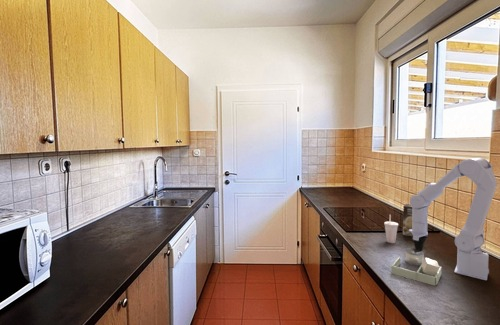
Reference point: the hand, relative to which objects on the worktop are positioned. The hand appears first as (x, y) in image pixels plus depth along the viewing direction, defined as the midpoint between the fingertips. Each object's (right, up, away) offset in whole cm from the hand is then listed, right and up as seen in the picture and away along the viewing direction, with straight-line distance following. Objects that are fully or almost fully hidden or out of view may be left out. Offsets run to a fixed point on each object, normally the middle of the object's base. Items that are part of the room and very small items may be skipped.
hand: (419, 251), depth 121 cm
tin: (-6, -3, -6) cm, 9 cm away
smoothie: (-3, -1, +18) cm, 18 cm away
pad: (-8, -3, -19) cm, 21 cm away
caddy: (-11, -3, -16) cm, 20 cm away
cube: (-8, -1, -18) cm, 20 cm away
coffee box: (+13, 0, +27) cm, 30 cm away
